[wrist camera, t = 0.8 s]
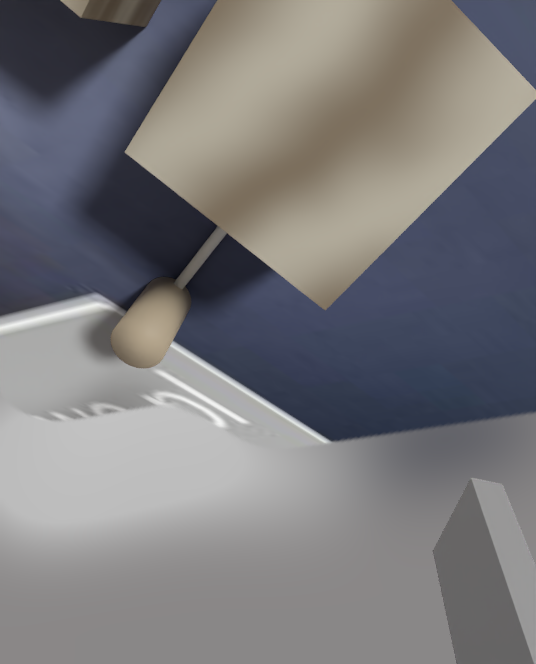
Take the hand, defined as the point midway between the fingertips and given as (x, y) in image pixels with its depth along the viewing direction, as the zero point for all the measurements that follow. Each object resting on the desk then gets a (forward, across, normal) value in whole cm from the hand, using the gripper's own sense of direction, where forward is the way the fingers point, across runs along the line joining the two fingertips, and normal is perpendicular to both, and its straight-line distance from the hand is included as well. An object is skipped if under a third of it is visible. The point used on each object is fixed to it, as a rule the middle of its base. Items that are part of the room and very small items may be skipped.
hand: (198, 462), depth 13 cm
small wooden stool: (+21, +1, +7) cm, 22 cm away
